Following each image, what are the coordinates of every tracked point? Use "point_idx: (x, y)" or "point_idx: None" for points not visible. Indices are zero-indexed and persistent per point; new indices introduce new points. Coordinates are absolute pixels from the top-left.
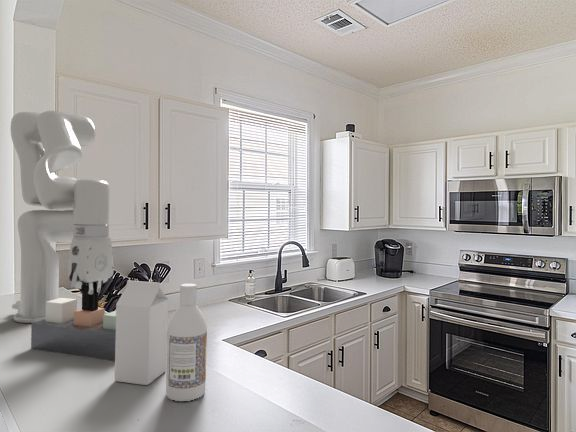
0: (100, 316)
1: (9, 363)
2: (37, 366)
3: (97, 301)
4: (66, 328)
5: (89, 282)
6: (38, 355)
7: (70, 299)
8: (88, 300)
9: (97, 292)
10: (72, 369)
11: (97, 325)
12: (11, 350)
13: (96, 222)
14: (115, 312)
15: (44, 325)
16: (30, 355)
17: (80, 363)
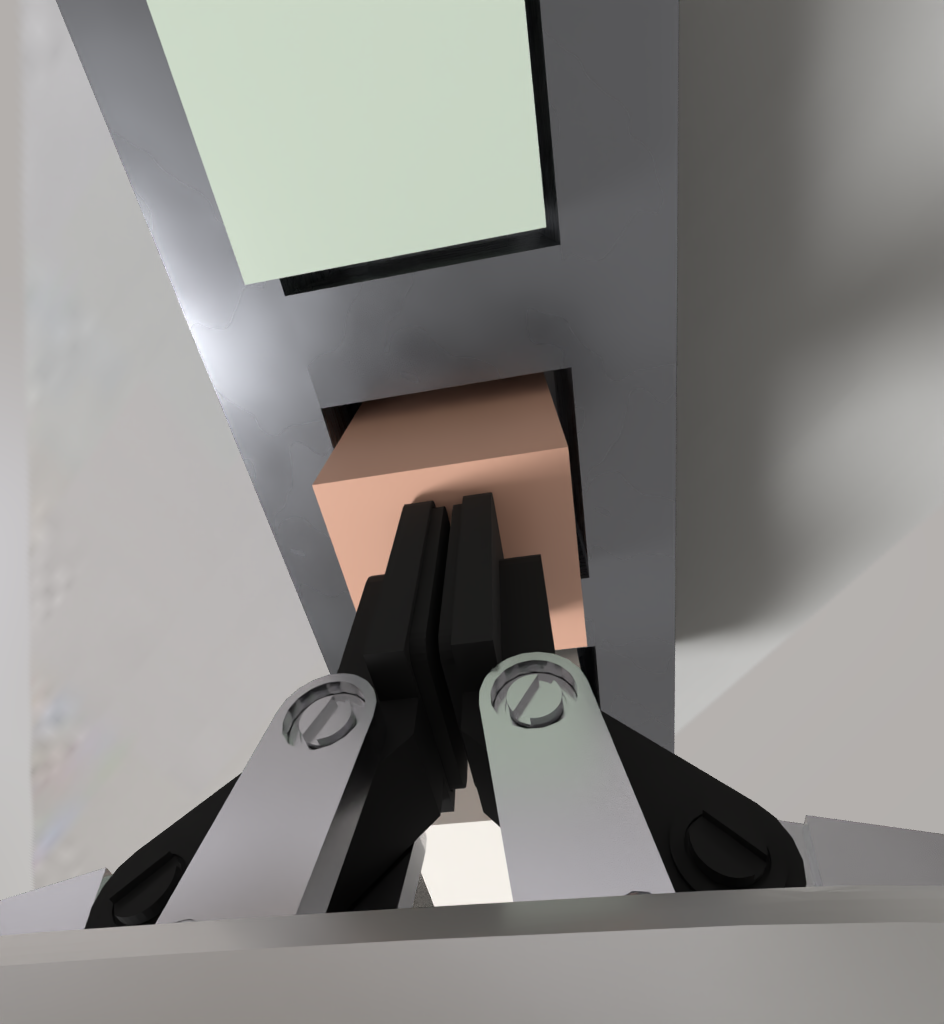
0: (398, 440)
1: (836, 572)
2: (848, 412)
3: (407, 556)
4: (672, 530)
5: (932, 887)
6: (694, 551)
7: (445, 855)
8: (548, 609)
9: (349, 688)
10: (854, 141)
11: (501, 349)
12: (679, 700)
13: None
14: (346, 174)
15: (671, 699)
16: (708, 583)
17: (734, 196)
